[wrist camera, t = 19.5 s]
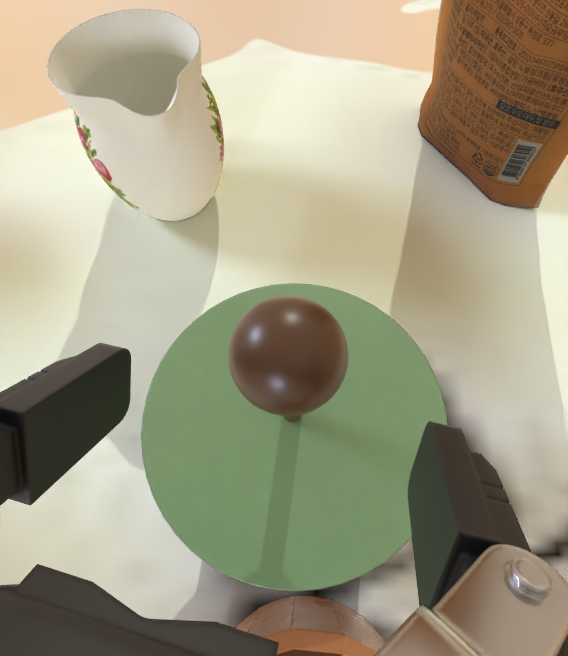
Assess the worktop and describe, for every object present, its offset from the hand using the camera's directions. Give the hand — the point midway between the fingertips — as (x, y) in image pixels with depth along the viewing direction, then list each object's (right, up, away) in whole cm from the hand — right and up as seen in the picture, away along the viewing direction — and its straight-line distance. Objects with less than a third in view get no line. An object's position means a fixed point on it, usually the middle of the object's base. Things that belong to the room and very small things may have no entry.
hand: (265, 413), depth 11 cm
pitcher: (-10, +16, +29) cm, 35 cm away
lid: (+1, -2, +8) cm, 9 cm away
